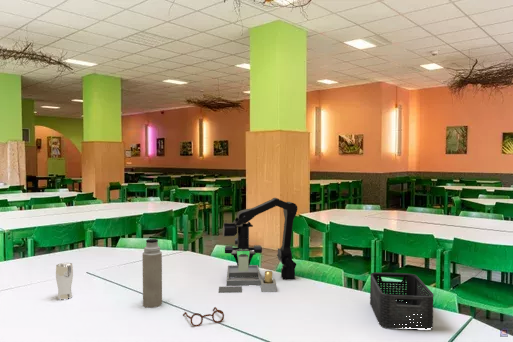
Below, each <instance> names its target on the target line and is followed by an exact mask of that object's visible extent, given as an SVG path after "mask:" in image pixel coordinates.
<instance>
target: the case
mask: <svg viewBox="0 0 513 342" xmlns="http://www.w3.org/2000/svg"><path fill="white" fill-rule="evenodd" d="M259 268H260V267H259V265H258V264H257V265H256V264H255V265H254V264H251V265H249V266H248V271H238V266H237V264H236V265H232V264H231V265H228V266H227V270H226V271H227V272H226V282H225V283H226V287H232V286H242V287H248V286H249V285H256V286H260V280H262V278H261V273H260V269H259ZM233 277H234V278H257V279H234V278H233ZM230 278H231V279H230ZM233 279H234V280H233Z"/></svg>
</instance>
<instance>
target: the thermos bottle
mask: <svg viewBox="0 0 513 342" xmlns="http://www.w3.org/2000/svg"><path fill="white" fill-rule="evenodd" d="M158 242H159V239H157V238H148V239H146V240H145V245H146V246H145V247H143V252H142V306H143V307H145V308H148V309H149V308H151V309H152V308H158V307H160V306H162V305H163V264H162V263H163V256H162V254H163V252H162V251H161V247H160V246H159V243H158Z"/></svg>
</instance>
